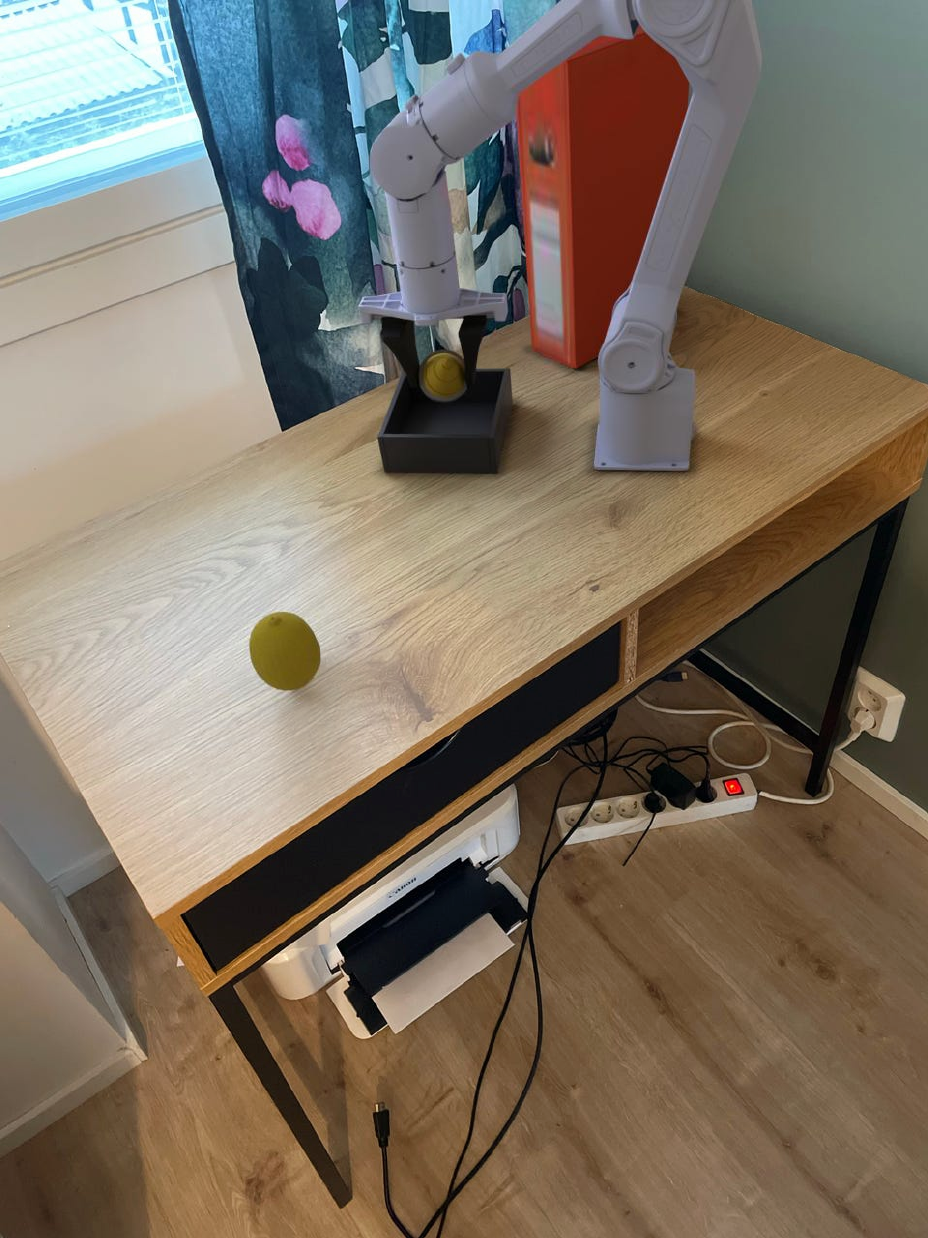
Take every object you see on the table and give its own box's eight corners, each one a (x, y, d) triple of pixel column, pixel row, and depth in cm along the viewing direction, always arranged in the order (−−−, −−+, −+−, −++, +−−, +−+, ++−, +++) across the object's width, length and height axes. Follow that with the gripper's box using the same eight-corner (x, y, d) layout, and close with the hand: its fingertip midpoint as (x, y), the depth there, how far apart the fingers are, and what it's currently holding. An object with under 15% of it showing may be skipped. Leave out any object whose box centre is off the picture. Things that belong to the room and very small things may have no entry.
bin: (512, 403, 102) (510, 367, 99) (497, 473, 93) (493, 437, 90) (409, 403, 104) (403, 368, 101) (384, 472, 95) (376, 437, 92)
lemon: (267, 663, 78) (241, 598, 72) (330, 655, 78) (309, 589, 72) (262, 713, 74) (234, 648, 68) (328, 704, 74) (306, 639, 68)
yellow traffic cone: (478, 383, 98) (484, 359, 88) (443, 418, 98) (446, 399, 88) (442, 348, 97) (445, 320, 87) (408, 383, 97) (407, 360, 87)
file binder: (530, 348, 110) (512, 49, 87) (628, 295, 117) (635, 5, 94) (576, 370, 105) (570, 61, 83) (676, 315, 112) (695, 14, 89)
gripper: (341, 276, 83) (367, 403, 93) (495, 272, 80) (506, 403, 90) (359, 243, 88) (382, 367, 97) (506, 238, 85) (515, 366, 95)
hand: (443, 382), depth 94 cm, fingers closed on yellow traffic cone, 5 cm apart
